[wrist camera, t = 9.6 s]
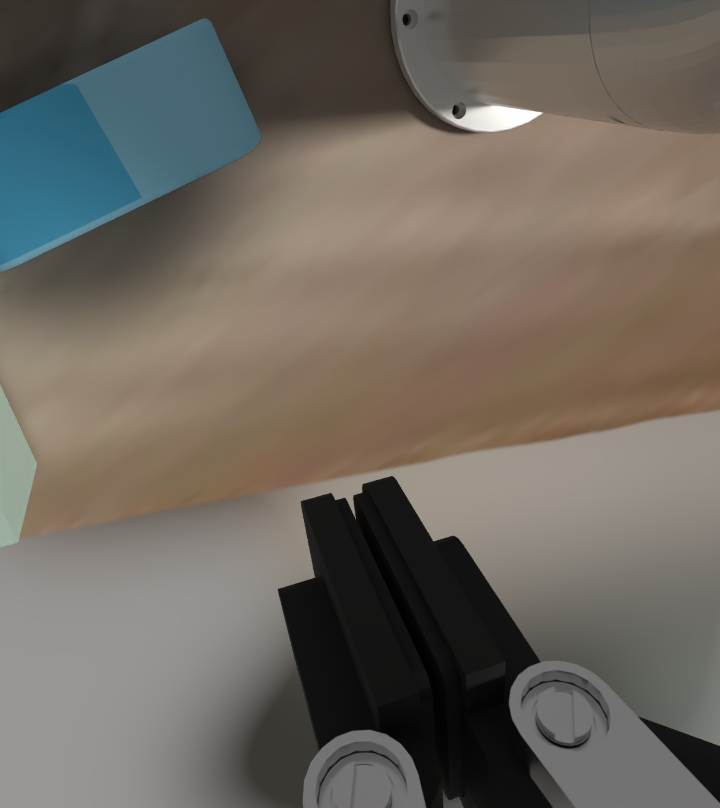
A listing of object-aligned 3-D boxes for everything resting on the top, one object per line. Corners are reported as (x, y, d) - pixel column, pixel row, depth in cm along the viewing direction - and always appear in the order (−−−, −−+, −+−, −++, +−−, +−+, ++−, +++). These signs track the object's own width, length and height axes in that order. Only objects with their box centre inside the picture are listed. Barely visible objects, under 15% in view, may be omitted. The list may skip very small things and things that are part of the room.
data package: (188, 25, 31) (213, 13, 21) (230, 117, 33) (270, 144, 23) (-33, 129, 30) (-117, 167, 20) (27, 214, 33) (-22, 285, 23)
